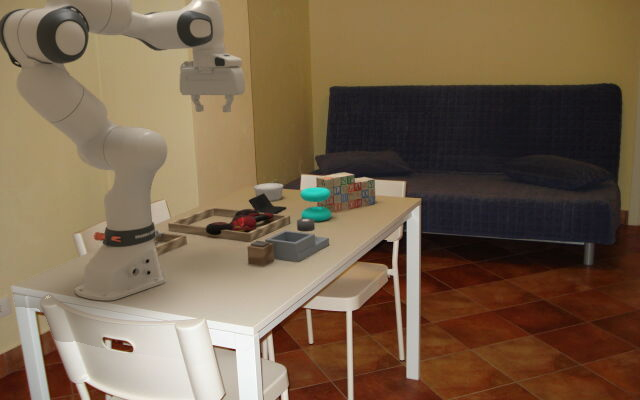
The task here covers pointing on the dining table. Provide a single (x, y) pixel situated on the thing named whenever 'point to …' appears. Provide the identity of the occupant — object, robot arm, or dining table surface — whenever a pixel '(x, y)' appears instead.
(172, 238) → the wooden frame
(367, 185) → the stack of blocks
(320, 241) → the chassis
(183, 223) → the wooden open frame
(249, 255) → the brown block
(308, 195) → the donuts
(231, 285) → the dining table surface
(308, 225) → the wheel
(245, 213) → the toy motorcycle
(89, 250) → the dining table surface
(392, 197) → the dining table surface
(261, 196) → the handheld gaming console
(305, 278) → the dining table surface
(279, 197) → the ramekin
